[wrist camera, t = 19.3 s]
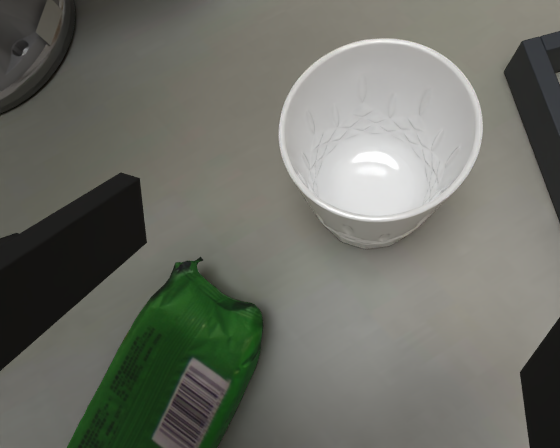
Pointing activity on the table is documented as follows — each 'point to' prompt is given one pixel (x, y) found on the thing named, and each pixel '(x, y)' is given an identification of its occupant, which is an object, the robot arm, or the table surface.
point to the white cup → (379, 137)
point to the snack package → (176, 370)
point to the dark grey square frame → (540, 103)
